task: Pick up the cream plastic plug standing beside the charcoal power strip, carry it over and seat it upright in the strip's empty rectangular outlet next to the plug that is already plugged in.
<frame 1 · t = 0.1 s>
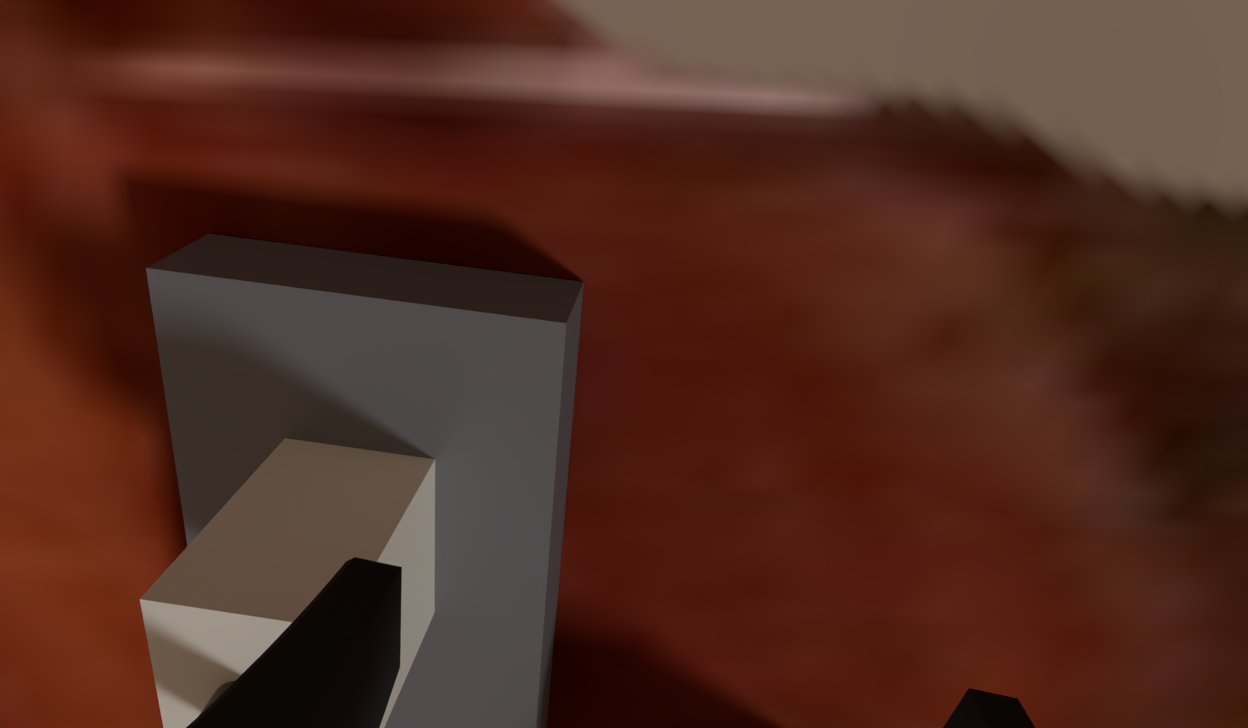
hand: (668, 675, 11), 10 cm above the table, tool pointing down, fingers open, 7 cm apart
power strip: (400, 618, 25), on the table
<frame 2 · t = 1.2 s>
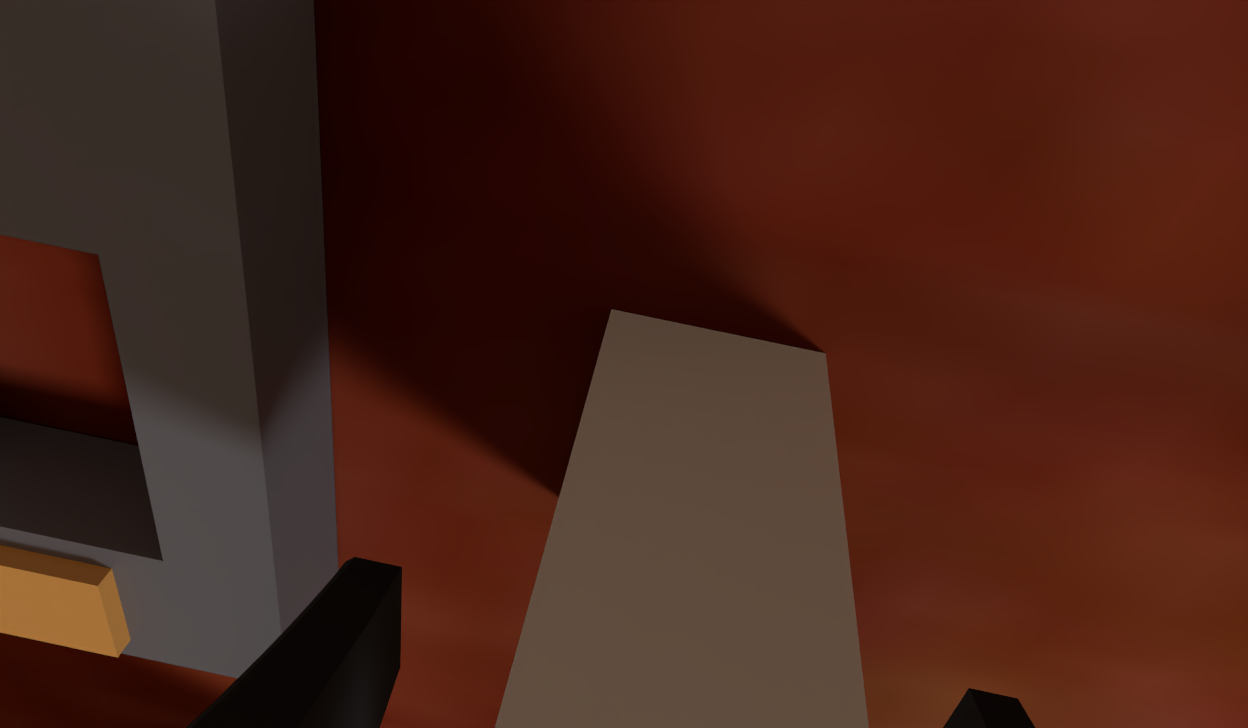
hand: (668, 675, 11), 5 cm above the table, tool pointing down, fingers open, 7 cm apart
power strip: (12, 18, 12), on the table
plug: (689, 437, 15), on the table
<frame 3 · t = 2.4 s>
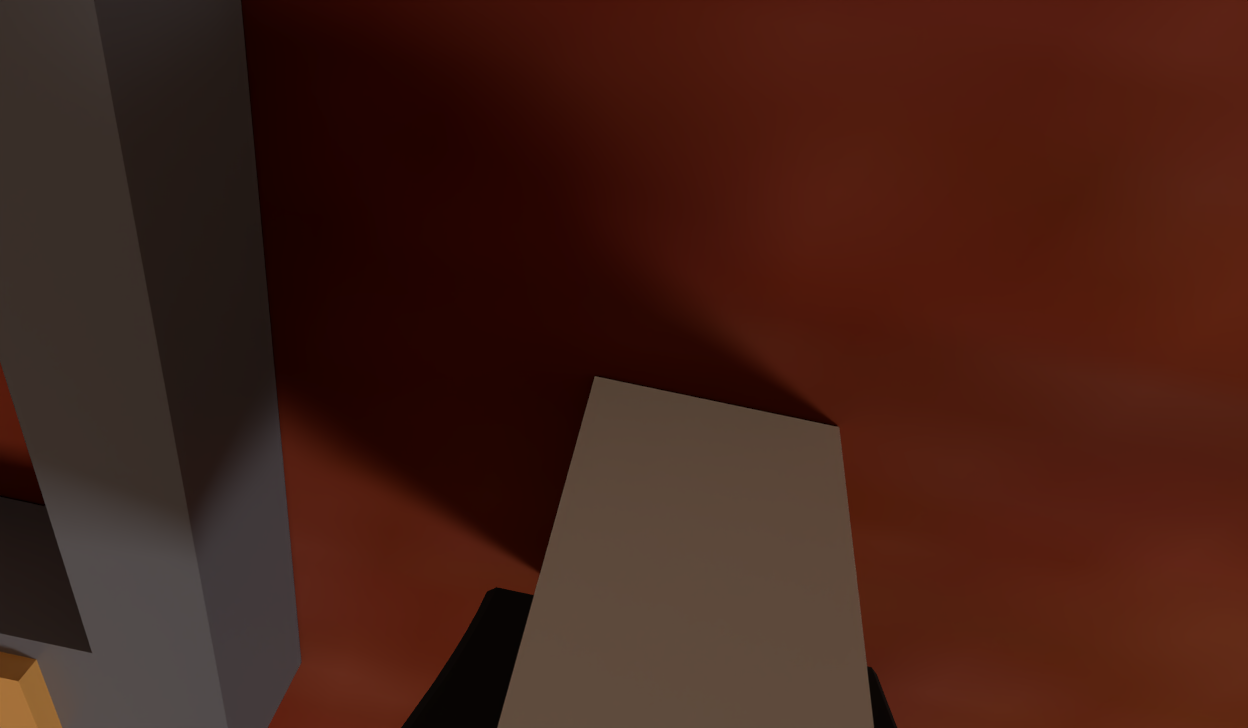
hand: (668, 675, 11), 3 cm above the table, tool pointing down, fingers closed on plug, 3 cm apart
plug: (684, 514, 14), on the table, touching gripper
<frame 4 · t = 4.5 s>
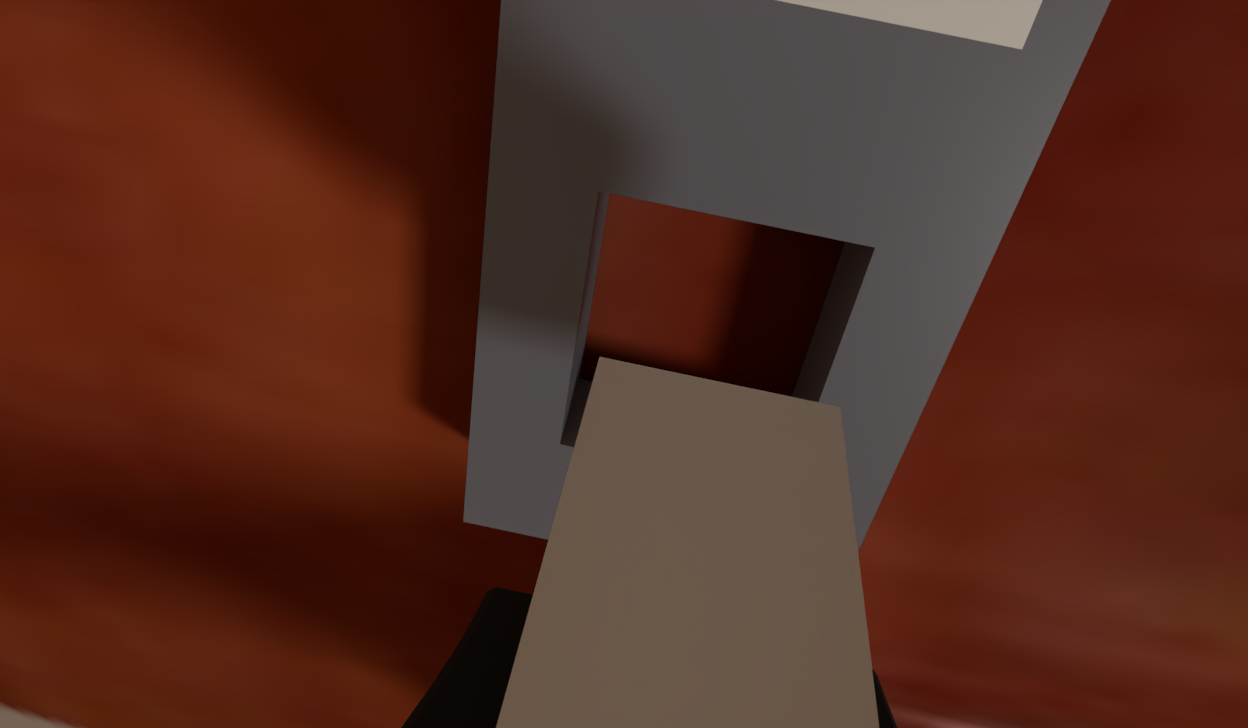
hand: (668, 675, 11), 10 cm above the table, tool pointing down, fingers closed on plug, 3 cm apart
power strip: (764, 67, 16), on the table
plug: (687, 494, 14), point 7 cm above the table, touching gripper
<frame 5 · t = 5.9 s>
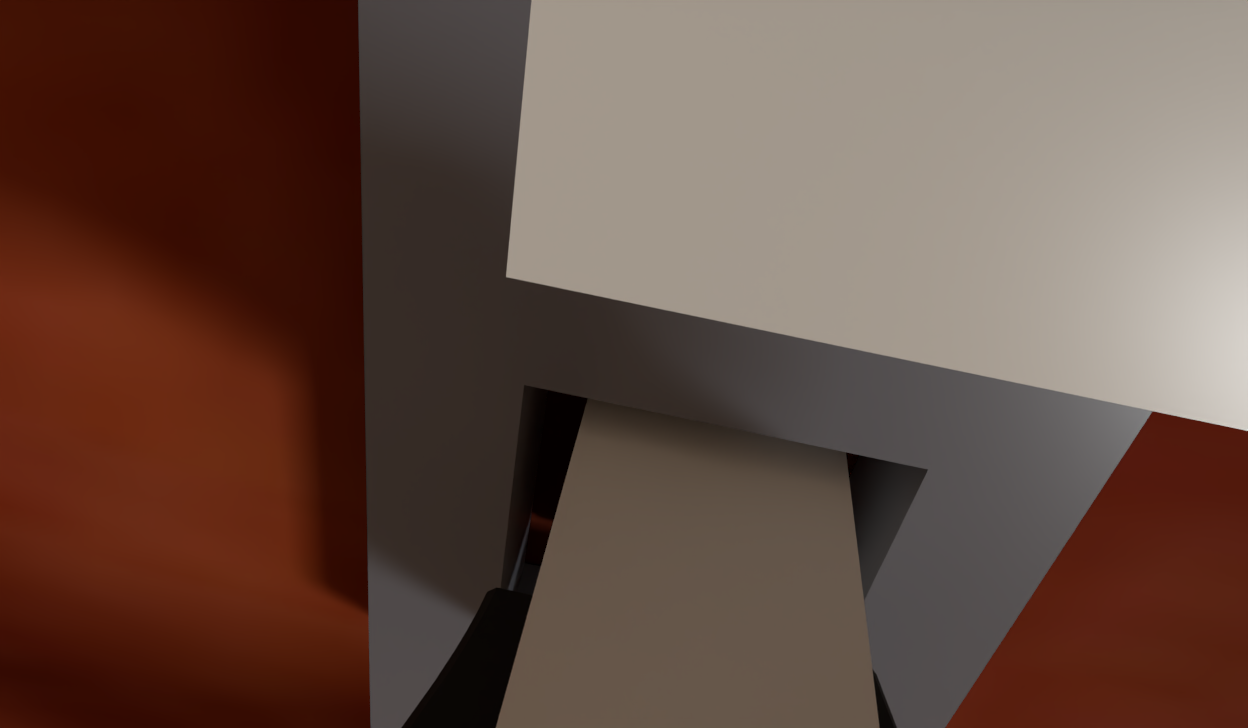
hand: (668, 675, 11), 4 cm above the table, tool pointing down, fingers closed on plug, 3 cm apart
power strip: (766, 193, 11), on the table
plug: (688, 494, 14), point 1 cm above the table, touching gripper
when the fingers open (4 cm above the table, at t = 6.6 s): plug stays where it is, resting in power strip.
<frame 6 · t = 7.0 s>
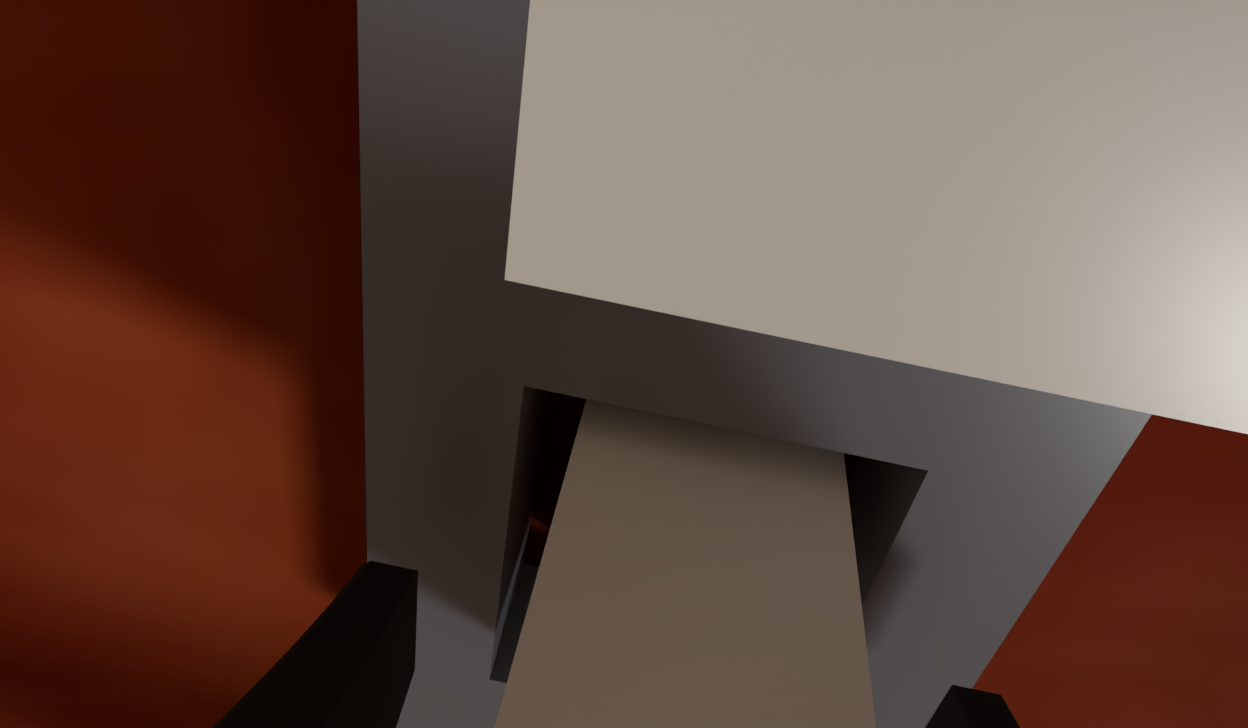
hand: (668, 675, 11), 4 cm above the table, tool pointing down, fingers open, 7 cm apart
power strip: (766, 194, 11), on the table
plug: (690, 467, 14), resting in power strip
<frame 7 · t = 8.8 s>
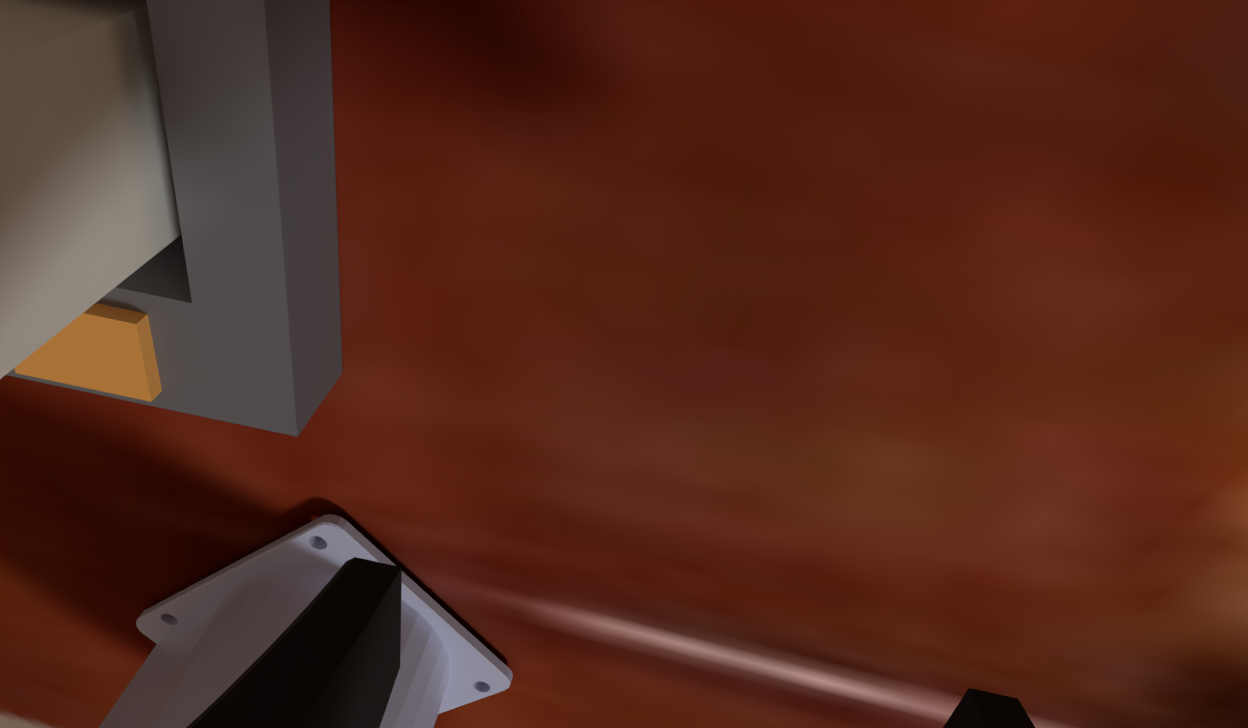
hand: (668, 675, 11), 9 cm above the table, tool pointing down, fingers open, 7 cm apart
plug: (121, 89, 18), resting in power strip
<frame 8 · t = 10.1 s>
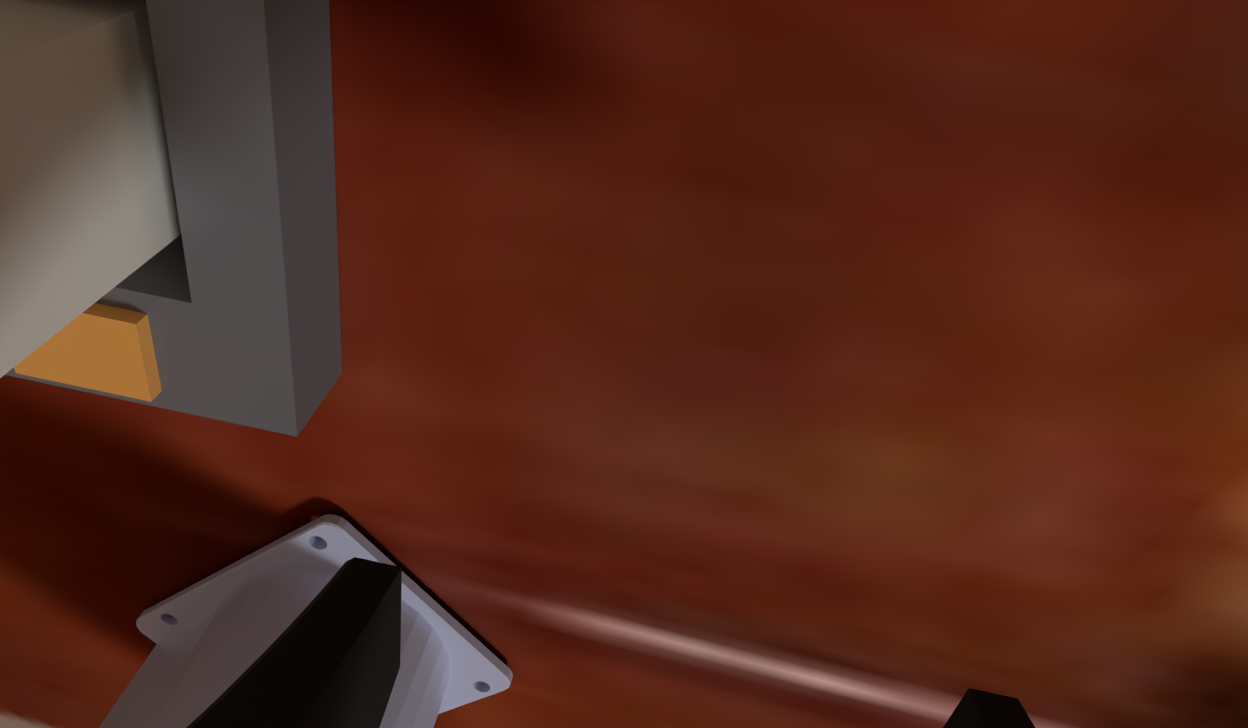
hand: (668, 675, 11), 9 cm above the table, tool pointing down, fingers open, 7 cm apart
plug: (120, 89, 18), resting in power strip
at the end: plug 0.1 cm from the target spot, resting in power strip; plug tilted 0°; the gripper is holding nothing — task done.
